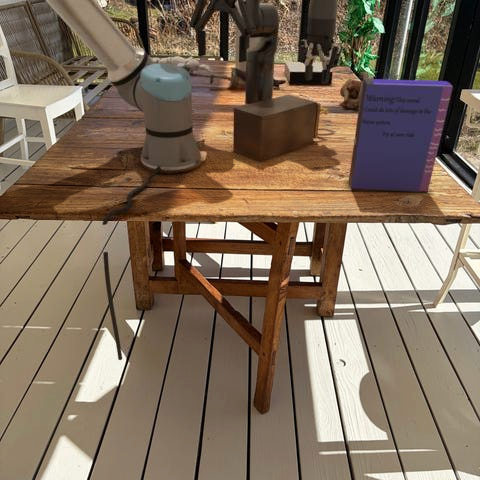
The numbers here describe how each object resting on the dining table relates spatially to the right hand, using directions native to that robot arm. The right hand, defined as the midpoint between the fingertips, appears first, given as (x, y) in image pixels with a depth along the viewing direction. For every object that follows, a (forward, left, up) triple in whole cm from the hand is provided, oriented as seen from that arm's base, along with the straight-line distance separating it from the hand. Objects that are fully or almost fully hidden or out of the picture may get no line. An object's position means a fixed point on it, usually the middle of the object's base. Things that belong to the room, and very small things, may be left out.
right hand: (316, 81), depth 136 cm
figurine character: (-57, -40, -16) cm, 72 cm away
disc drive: (-74, +15, -16) cm, 77 cm away
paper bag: (-87, -7, -16) cm, 89 cm away
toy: (-87, -41, -16) cm, 97 cm away
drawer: (+6, -8, -15) cm, 18 cm away
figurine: (-58, -13, -16) cm, 62 cm away
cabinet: (+10, -13, -16) cm, 23 cm away
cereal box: (+38, +9, -16) cm, 42 cm away
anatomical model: (-32, +22, -16) cm, 42 cm away
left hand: (-3, -27, +6) cm, 27 cm away
